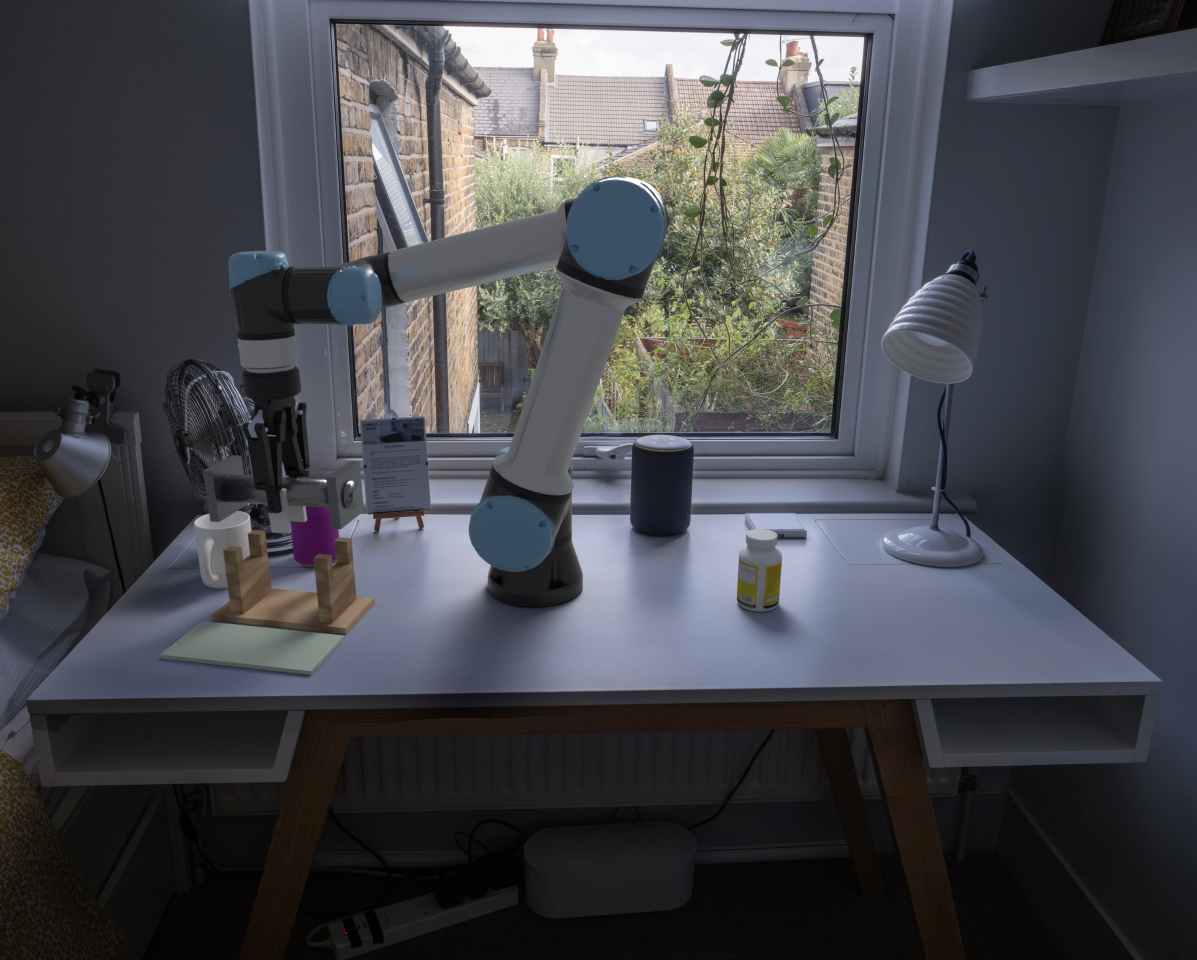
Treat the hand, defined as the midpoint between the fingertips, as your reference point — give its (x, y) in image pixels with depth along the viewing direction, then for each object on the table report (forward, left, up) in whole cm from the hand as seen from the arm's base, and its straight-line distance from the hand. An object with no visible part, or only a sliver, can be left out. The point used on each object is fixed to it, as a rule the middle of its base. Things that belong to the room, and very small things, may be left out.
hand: (289, 525), depth 134 cm
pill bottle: (-68, -17, -14) cm, 71 cm away
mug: (+16, -7, -14) cm, 23 cm away
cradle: (+1, 0, -14) cm, 14 cm away
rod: (0, 0, +2) cm, 2 cm away
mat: (0, +12, -14) cm, 18 cm away
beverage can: (+6, -19, -14) cm, 24 cm away
